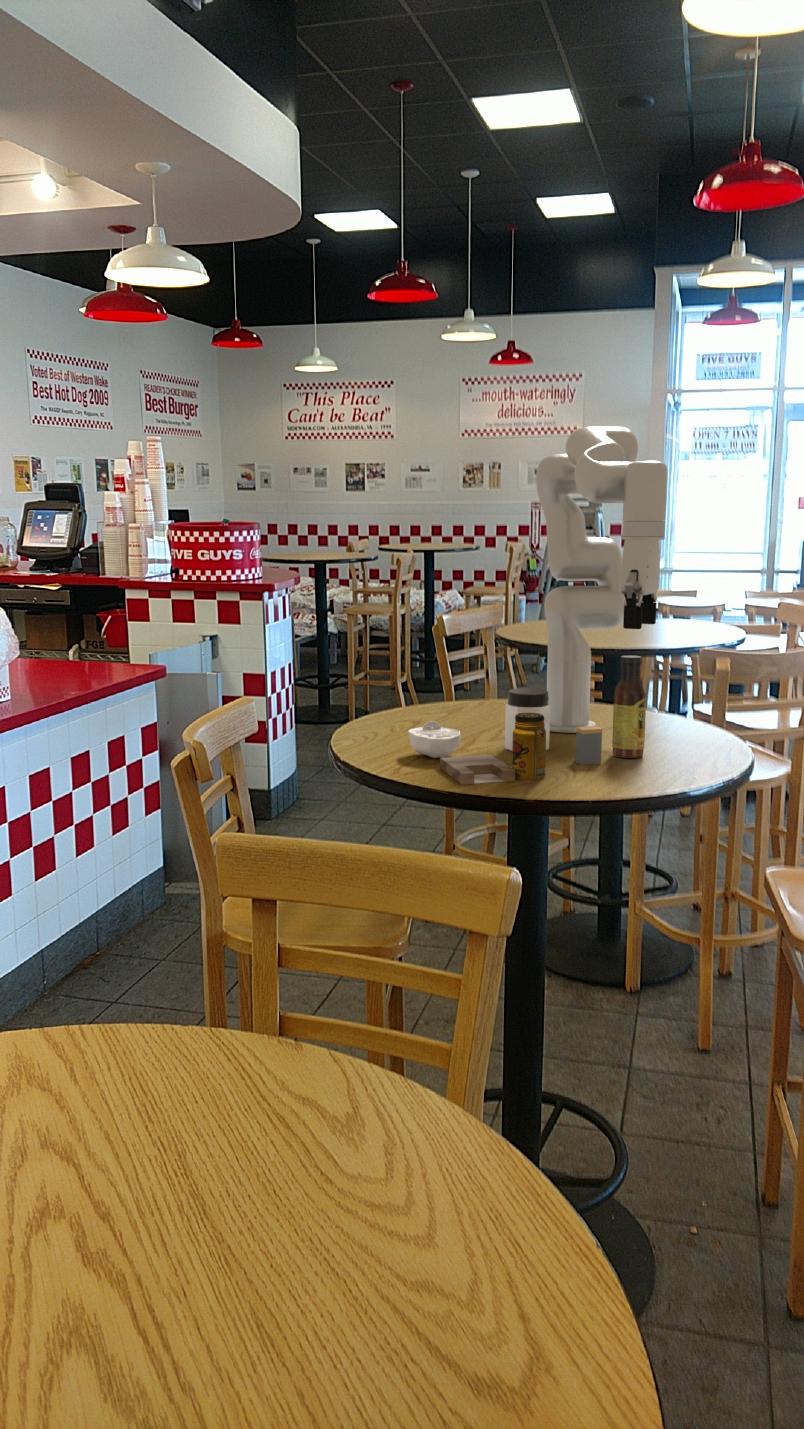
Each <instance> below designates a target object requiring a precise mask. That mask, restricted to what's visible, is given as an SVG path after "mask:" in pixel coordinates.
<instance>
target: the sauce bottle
mask: <svg viewBox="0 0 804 1429" xmlns="http://www.w3.org/2000/svg"><path fill="white" fill-rule="evenodd" d="M642 662H643V660H642V656H641V655H640V656H639V655H621V656H620V666H621V667H620V669H621V670H620V680H619V681H618V683H617V685H616V686H615V689H614V694H613V695H614V698H613V699H614V701H613V710H612V711H613V715H612V743H611V744H612V746H611V747H612V754H613V756H615V757H616V758H621V759H625V758H626V759H635V758H636V759H637V758H641V757H643V755H644V749H645V737H646V736H645V735H646V734H645V733H646V711H647V710H646V706H647V695H646V692H645V689H644V686H643V682H642V679H641V666H642V664H643V663H642Z"/></svg>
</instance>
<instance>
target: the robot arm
mask: <svg viewBox="0 0 804 1429" xmlns="http://www.w3.org/2000/svg"><path fill="white" fill-rule="evenodd" d="M638 445H639V444H638V439H637V437H636V434H635V433H634V432H633V431H632V430H631V429H629V428H627V427H623V426H585V427H580V428H578V429H576V430H574V431H572V433H571V434H570V435H568V438H567V439H566V443H565V452H566V453H557V454H551V455H548V456H546V457H544V458H543V459H541V460H540V462H539V464H538V465H537V469H536V476H535V483H536V484H535V485H536V492H537V496H538V500H539V503H540V505H541V508H542V511H543V514H544V518H545V524H546V542H547V543H546V544H547V559H548V566H549V572H550V575H551V576H552V577H553V578H554V579H555V580H559V581H567V582H569V581H570V582H579V581H580V582H582V581H583V582H585V581H586V582H587V581H589V582H591V581H593V582H594V581H595V582H596V584H598V585H565V586H564V585H563V586H558V587H555V588H552V590H550V591H549V592H548V593H547V595H546V596H545V599H544V616H545V622H546V630H547V632H546V633H547V662H546V663H547V669H546V691H548V696H549V700H548V704H550V729H549V732H554V733H565V734H569V733H570V734H576V727H584V726H597V723H596V722H595V721H592V720H591V719H590V707H591V705H590V700H591V671H592V669H591V667H592V651H591V646H590V645H589V642H588V640H586V638H585V637H584V636H583V634H582V633H581V631H583V630H584V631H585V630H609V629H615V628H618V627H619V626H620V625H621V624H622V623H623V625H622V627H623V629H626V630H627V629H629V630H641V629H642V625H655V624H657V622H656V621H657V601H658V600H657V599H658V598H657V592H658V590H659V586H660V574H661V573H660V572H661V571H660V570H661V569H660V566H661V564H660V562H661V558H660V555H661V554H660V553H661V546H660V542H661V541H662V540H663V541H664V540H665V536H666V518H667V517H666V513H667V512H666V511H667V492H668V465H667V464H666V463H664V462H663V461H658V460H639V461H638V460H637V457H638V453H639V446H638ZM636 460H637V461H636ZM569 494H572V495H573V494H574V495H579V494H580V495H581V496H582V497H583V498H584V499H585V500H587V501H589V502H591V503H593V504H622V528H621V529H622V530H621V532H622V534H621V539H622V540H624V544H623V548H622V553H621V550H620V547H619V545H618V543H617V542H616V540H614V539H612V538H609V537H605V536H604V537H598V536H592V537H591V536H590V537H589V536H588V534H587V533H586V518H585V515H584V513H583V511H582V509H581V508H580V507H579V506H580V505H578V504H577V502H576V501H575V500H574V499H573V498H572V497H571V496H569ZM660 540H661V541H660Z"/></svg>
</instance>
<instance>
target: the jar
mask: <svg viewBox="0 0 804 1429" xmlns="http://www.w3.org/2000/svg"><path fill="white" fill-rule="evenodd" d="M548 700H549V696H548V691H547V689H546V690H545V689H541V688H531V687H529V688H528V687H527V688H526V687H525V688H523V687H522V688H512V689H509V690H508V691H507V703H505V717H504V718H505V719H504V721H505V722H504V723H505V724H504V749H505V750H507V751H510V752H512V751H513V730H514V728H515V716H516V715H517V714H519V713H539V714H542V715H543V716H544V725H545V726H544V728H545V730H546V751H548V750H550V731H549V729H550V704H548Z"/></svg>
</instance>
